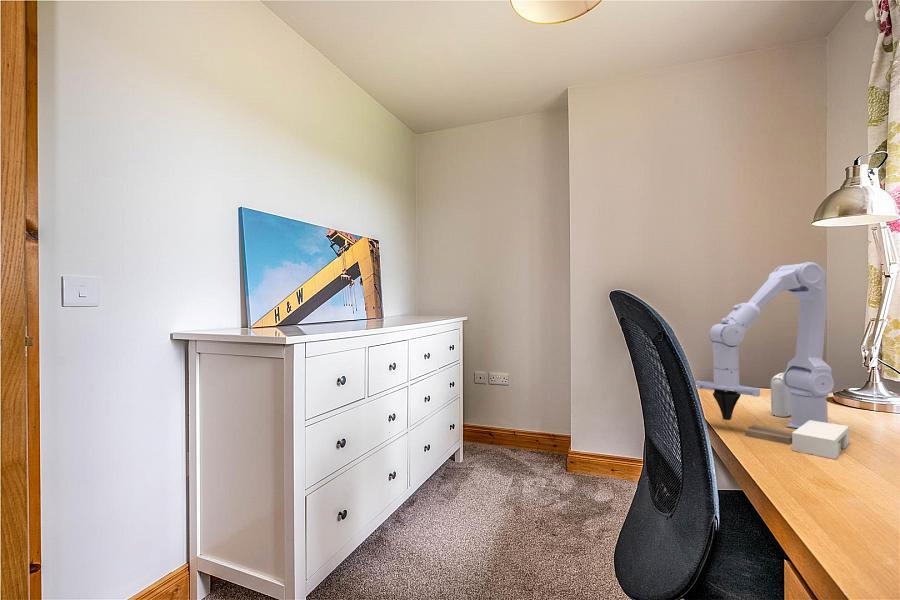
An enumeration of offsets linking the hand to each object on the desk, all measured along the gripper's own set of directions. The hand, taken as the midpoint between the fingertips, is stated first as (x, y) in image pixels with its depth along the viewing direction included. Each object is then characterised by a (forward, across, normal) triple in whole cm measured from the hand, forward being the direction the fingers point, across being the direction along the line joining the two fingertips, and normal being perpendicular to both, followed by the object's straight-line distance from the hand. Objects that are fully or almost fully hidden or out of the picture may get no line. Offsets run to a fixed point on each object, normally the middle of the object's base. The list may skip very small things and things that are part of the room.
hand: (727, 419), depth 112 cm
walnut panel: (+3, +10, 0) cm, 10 cm away
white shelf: (+2, +19, 0) cm, 19 cm away
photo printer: (+3, +6, +29) cm, 30 cm away
